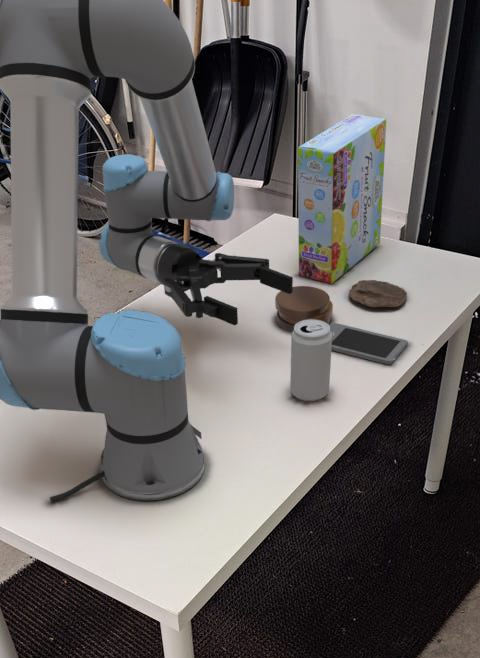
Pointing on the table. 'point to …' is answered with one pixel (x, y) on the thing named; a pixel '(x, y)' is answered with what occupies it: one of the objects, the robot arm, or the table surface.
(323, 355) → the beverage can
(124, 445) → the robot arm
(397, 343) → the smartphone
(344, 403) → the table surface
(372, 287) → the rock
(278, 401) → the table surface
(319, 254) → the snack box
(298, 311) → the chip pile
